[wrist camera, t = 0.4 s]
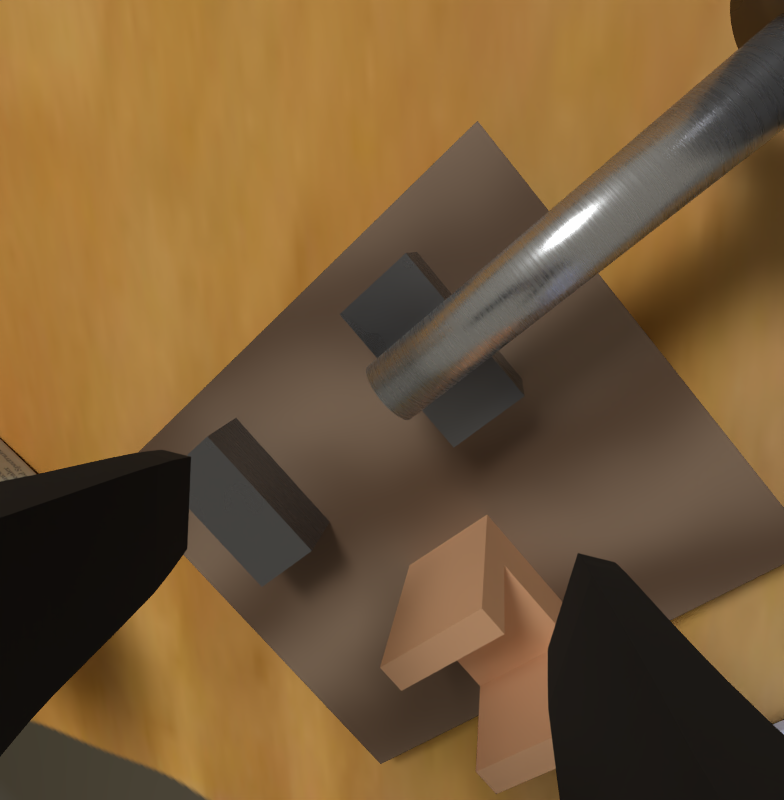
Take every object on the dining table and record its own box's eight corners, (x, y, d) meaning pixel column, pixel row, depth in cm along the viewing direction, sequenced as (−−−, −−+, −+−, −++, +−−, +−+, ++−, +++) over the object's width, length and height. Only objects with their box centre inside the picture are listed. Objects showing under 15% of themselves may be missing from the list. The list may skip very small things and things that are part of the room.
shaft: (860, 113, 12) (1026, 52, 8) (445, 424, 16) (428, 480, 12) (756, -34, 11) (880, -169, 8) (359, 323, 16) (313, 349, 12)
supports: (522, 379, 16) (524, 395, 14) (283, 556, 20) (262, 587, 18) (416, 252, 16) (406, 253, 14) (192, 457, 19) (161, 479, 17)
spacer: (579, 621, 18) (604, 747, 13) (497, 664, 19) (496, 793, 15) (487, 514, 18) (481, 608, 13) (409, 565, 19) (379, 667, 14)
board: (797, 530, 17) (815, 548, 16) (385, 742, 23) (380, 764, 22) (478, 128, 15) (477, 121, 14) (129, 468, 21) (111, 478, 20)
